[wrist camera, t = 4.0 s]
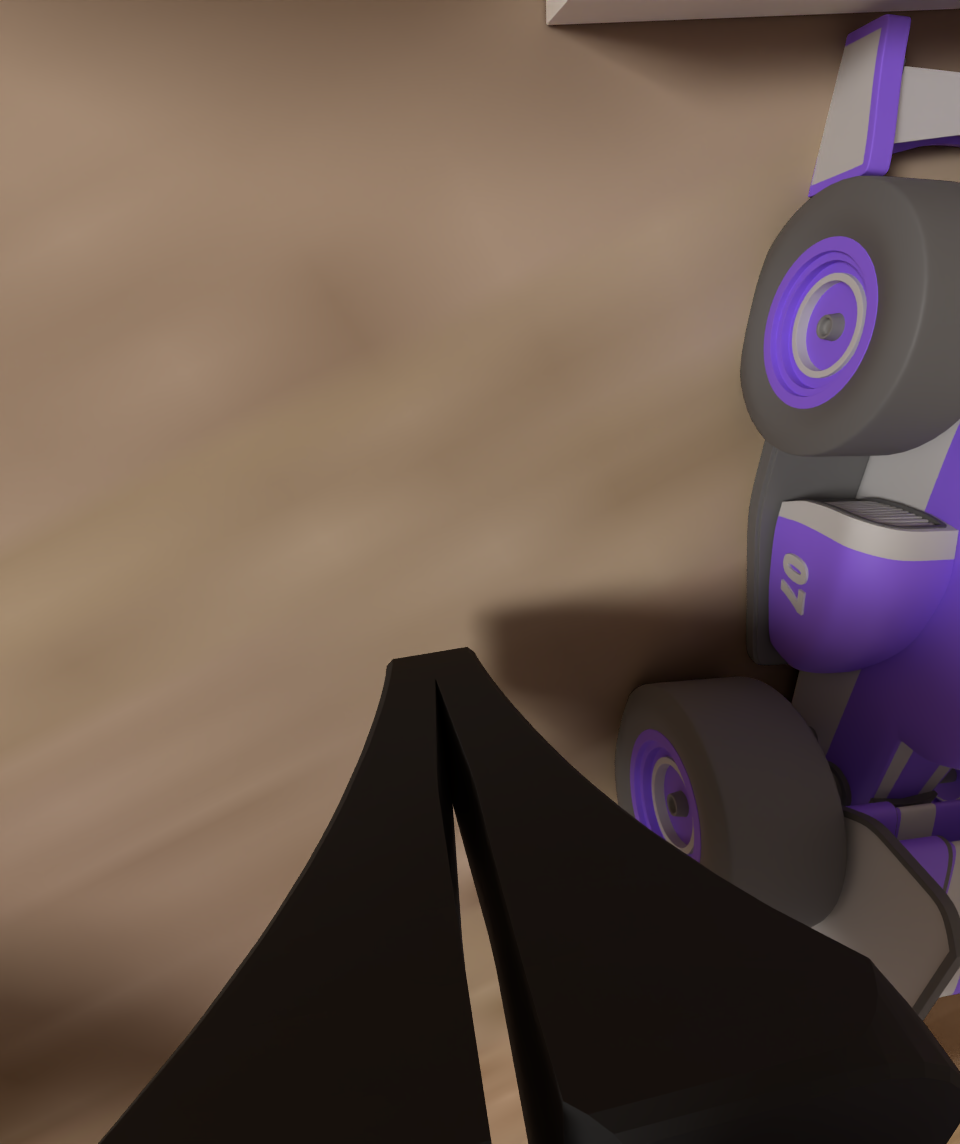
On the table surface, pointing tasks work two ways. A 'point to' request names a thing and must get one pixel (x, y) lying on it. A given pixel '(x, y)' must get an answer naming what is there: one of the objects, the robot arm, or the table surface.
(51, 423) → the table surface
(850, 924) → the toy race car
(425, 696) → the robot arm
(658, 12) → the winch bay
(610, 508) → the table surface
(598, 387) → the table surface
